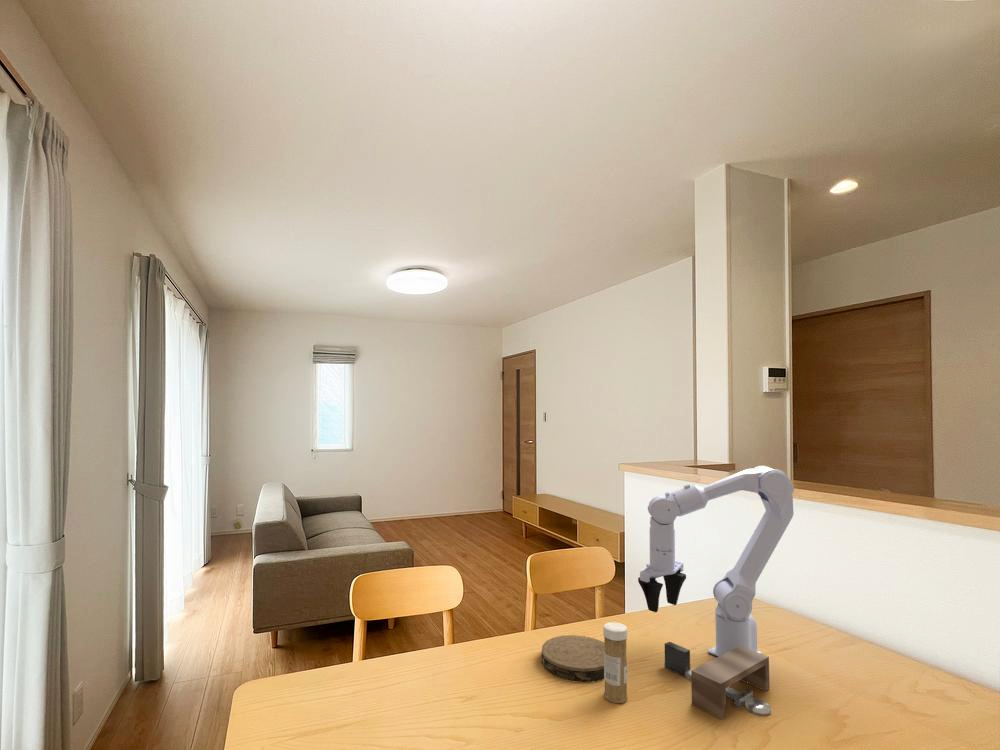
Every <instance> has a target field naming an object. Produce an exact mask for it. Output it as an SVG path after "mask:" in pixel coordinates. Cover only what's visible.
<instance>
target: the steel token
mask: <svg viewBox="0 0 1000 750" xmlns="http://www.w3.org/2000/svg"><path fill="white" fill-rule="evenodd" d="M744 707H746V708H747V709H746V708H745V709H746V710H747V711H748V710H749V712H750V713H751V714H754V713H755V714H754V715H757V714H758V715H757V716H762V715H766V716H769V715H771V714H772V707H771V705H770V704H769V703H768V702H766V701H764V700H762V699H758V698H750V699H746V700H745V704H744ZM770 713H771V714H770Z"/></svg>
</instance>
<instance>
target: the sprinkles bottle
mask: <svg viewBox="0 0 1000 750" xmlns="http://www.w3.org/2000/svg"><path fill="white" fill-rule="evenodd" d="M602 630H603V632H602V633H603V638H604V640H603V642H604V679H603V680H604V692H603V696H604V698H605V699H606V700H607V701H608V702H609V703H610V702H611V703H613V704H623V703H625V702H626V701H627V700H628V698H629V696H628V695H629V694H628V660H627V659H628V656H627V652H628V651H627V640H628V639H627V638H628V627H627V626H626V625H625V624H623V623H620V622H617V621H616V622H615V621H611V622H609V621H608V622H606V623H605V624H603V629H602Z"/></svg>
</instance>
